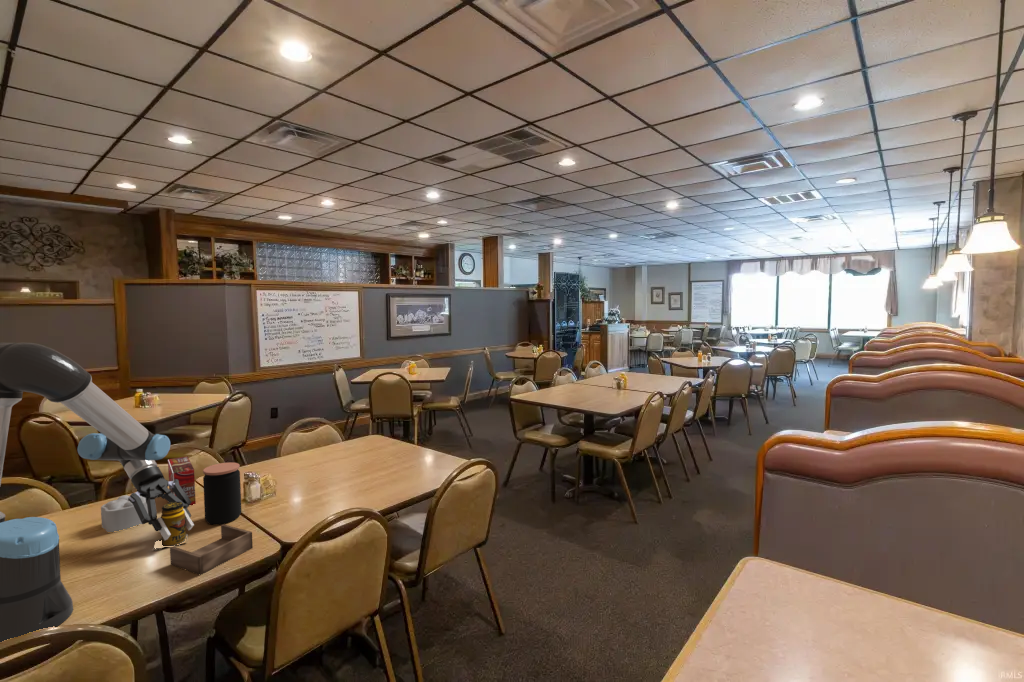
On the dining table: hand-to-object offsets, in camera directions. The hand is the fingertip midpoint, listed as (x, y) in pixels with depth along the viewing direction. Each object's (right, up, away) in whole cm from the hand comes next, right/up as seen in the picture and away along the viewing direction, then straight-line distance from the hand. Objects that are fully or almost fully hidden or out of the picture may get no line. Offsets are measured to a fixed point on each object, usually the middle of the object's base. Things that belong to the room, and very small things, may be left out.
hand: (179, 532), depth 142 cm
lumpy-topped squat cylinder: (-27, -3, +14) cm, 31 cm away
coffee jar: (+2, -3, +18) cm, 18 cm away
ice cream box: (-24, -2, +35) cm, 42 cm away
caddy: (+15, -4, -7) cm, 17 cm away
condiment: (-4, -4, +1) cm, 5 cm away
